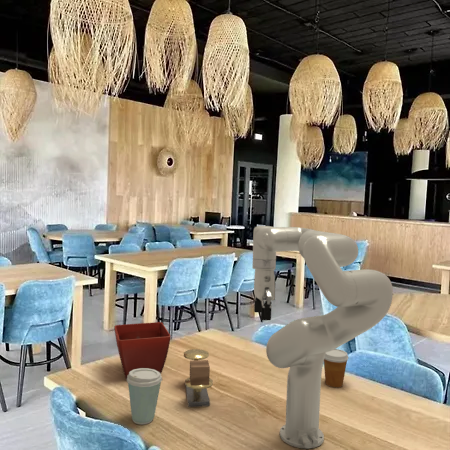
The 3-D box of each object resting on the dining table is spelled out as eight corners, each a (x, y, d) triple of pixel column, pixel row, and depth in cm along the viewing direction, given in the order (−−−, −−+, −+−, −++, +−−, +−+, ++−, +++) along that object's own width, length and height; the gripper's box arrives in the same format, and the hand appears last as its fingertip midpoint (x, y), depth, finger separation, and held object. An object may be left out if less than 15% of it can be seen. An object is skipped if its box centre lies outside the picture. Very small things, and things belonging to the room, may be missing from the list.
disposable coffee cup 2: (318, 385, 164) (319, 354, 164) (324, 376, 173) (326, 346, 172) (343, 391, 160) (345, 359, 159) (349, 382, 168) (351, 351, 168)
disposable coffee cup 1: (142, 408, 143) (143, 362, 142) (168, 417, 137) (169, 370, 136) (118, 421, 134) (119, 373, 133) (145, 432, 128) (146, 382, 127)
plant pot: (117, 385, 159) (118, 339, 158) (113, 366, 177) (114, 324, 176) (170, 380, 165) (171, 336, 164) (161, 362, 183) (162, 321, 182)
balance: (213, 409, 143) (214, 373, 143) (185, 410, 142) (186, 374, 141) (206, 380, 166) (207, 349, 165) (182, 381, 165) (183, 349, 164)
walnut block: (209, 384, 144) (209, 366, 144) (190, 385, 143) (191, 367, 143) (207, 377, 150) (207, 360, 150) (189, 377, 149) (190, 360, 149)
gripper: (282, 268, 136) (280, 323, 137) (268, 260, 153) (267, 309, 154) (258, 268, 135) (256, 323, 136) (247, 260, 152) (245, 309, 153)
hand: (262, 316), depth 145 cm, fingers open, 9 cm apart
